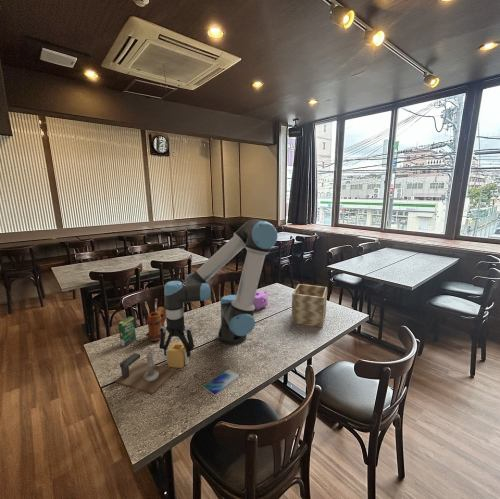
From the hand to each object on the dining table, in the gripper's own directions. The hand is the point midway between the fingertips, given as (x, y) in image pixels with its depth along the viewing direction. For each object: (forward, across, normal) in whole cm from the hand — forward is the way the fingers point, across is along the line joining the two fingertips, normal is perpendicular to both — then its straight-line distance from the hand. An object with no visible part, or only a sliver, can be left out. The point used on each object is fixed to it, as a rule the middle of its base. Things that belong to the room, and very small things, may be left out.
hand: (177, 362), depth 124 cm
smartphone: (+1, -23, +10) cm, 25 cm away
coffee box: (+1, +32, -14) cm, 34 cm away
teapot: (0, -32, -64) cm, 71 cm away
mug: (0, +19, -22) cm, 29 cm away
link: (0, 0, -5) cm, 5 cm away
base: (0, +10, +11) cm, 15 cm away
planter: (0, -64, -51) cm, 82 cm away
